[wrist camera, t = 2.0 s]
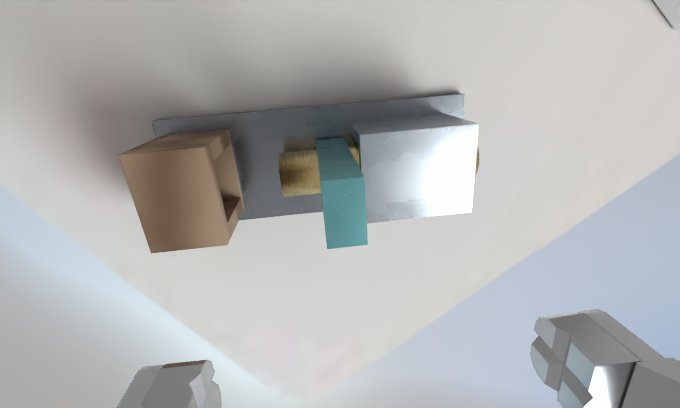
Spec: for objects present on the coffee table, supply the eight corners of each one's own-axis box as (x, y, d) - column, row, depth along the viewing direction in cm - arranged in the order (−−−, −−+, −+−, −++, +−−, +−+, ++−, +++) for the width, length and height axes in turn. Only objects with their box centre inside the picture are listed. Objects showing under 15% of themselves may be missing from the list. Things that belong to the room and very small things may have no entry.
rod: (458, 127, 24) (543, 159, 15) (455, 172, 26) (532, 226, 17) (280, 143, 23) (264, 186, 15) (287, 189, 25) (276, 254, 16)
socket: (230, 128, 24) (204, 147, 18) (245, 204, 26) (227, 245, 20) (166, 133, 23) (118, 155, 17) (187, 210, 26) (151, 253, 20)
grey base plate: (460, 93, 24) (506, 100, 19) (454, 194, 27) (491, 226, 22) (155, 120, 23) (107, 135, 18) (184, 222, 26) (151, 263, 21)
